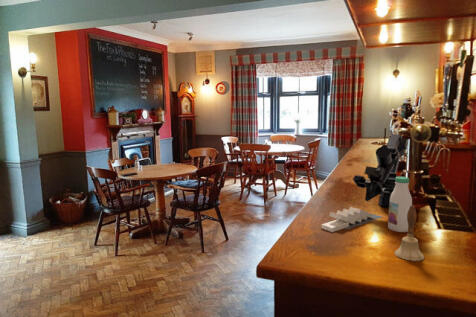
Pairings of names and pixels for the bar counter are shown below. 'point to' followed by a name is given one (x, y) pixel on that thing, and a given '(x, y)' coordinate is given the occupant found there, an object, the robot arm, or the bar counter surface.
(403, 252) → the hand bell
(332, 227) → the domino
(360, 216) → the domino
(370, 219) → the runner mat
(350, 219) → the domino
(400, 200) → the milk bottle
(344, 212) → the domino
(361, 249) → the bar counter surface
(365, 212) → the domino
